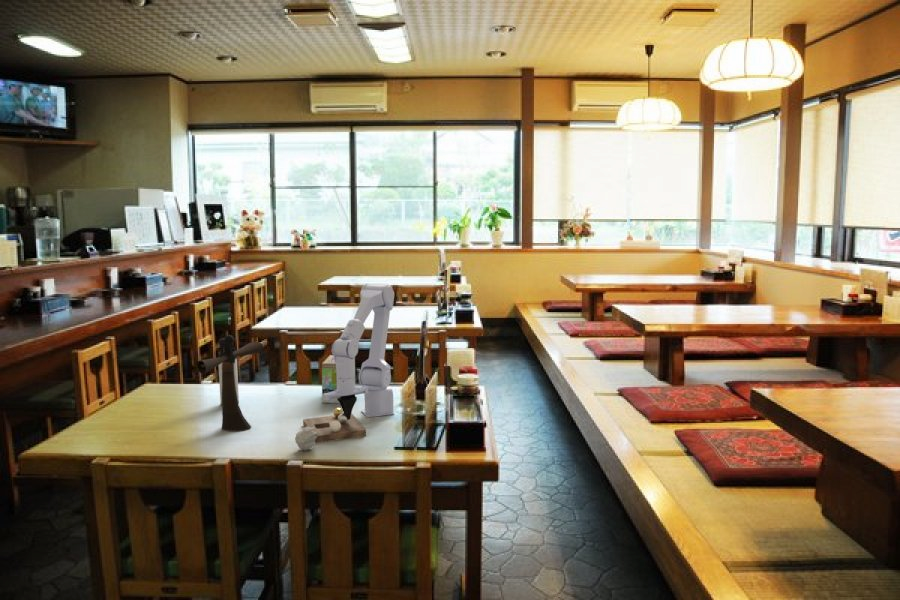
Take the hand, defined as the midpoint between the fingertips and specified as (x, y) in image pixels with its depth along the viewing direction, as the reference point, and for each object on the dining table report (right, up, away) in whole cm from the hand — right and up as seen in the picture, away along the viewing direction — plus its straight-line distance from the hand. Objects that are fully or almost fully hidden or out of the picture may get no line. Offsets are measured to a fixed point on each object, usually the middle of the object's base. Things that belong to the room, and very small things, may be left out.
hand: (347, 418), depth 209 cm
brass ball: (-4, +1, +6) cm, 7 cm away
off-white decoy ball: (-2, -1, -8) cm, 9 cm away
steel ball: (-1, 0, 0) cm, 1 cm away
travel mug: (-46, 0, +28) cm, 54 cm away
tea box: (-8, +1, +36) cm, 37 cm away
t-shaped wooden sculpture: (-36, -3, +2) cm, 36 cm away
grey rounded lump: (-9, -6, -18) cm, 21 cm away
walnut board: (-4, -4, -1) cm, 5 cm away
